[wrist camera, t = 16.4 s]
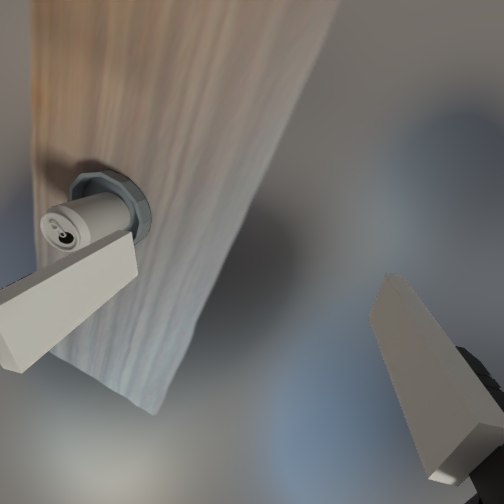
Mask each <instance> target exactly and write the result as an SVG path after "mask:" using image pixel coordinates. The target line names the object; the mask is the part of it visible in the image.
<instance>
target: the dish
mask: <svg viewBox="0 0 504 504" xmlns="http://www.w3.org/2000/svg"><path fill="white" fill-rule="evenodd" d="M103 192H109V193H112V194H114V195H117V196H118V197H119V198H120V199H122V200H123V202H124V203H125V204H126V206H127V208H128V210H129V213H130V222H129V225H128V226H127V228H125V229H124V231H130V232H132V238H133V244H134V245H135V244H137V243H138V242H139V241H141V240H142V239H143V238H145V237H146V236H147V234H148V232H149V230H150V227H151V211H150V207H149V204H148V201H147V199H146V197H145V196H144V194H143V193H142V191H141V190H140V189H139V187H138V186H137V185H136V184H135V183H134V182H133V181H131V180H130V179H129V178H127V177H126V176H124V175H122V174H120V173H117V172H114V171H111V170H107V171H94V172H87V173H81V174H80V175H79V176H78V177H77V178H76V179H75V180H74V181H73V182H72V183H71V184H70V186H69V193H68V202H70V201H74V200H77V199H81V198H84V197H88V196H91V195H95V194H99V193H103Z"/></svg>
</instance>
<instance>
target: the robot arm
mask: <svg viewBox="0 0 504 504" xmlns="http://www.w3.org/2000/svg"><path fill="white" fill-rule="evenodd" d="M137 275H138V271H137V264H136V258H135V251H134V244H133V238H132V232H130V231H124V230H117V231H115V232H113V233H111V234H109V235H107V236H105V237H103V238H101V239H99V240H97V241H96V242H94V243H92V244H90V245H88V246H86V247H84V248H82V249H80V250H78V251H76V252H74V253H72V254H70V255H68V256H66V257H64V258H62V259H60V260H58V261H56V262H54V263H52V264H50V265H48V266H46V267H44V268H42V269H41V270H39V271H37V272H35V273H32V274H29V275H27V276H26V277H23V278H21V279H20V280H18V281H17V282H14V283H12V284H10V285H8V286H6V287H5V288H2V289H0V364H1V366H2V367H3V368H4V369H7V370H11V371H15V372H19V373H23V372H24V371H25V370H26V369H28V368H29V367H30V366H31V365H32V364H33V363H35V362H36V361H37V360H38V359H39V358H40V357H42V356H43V355H44V354H45V353H46V352H48V351H49V350H50V349H51V348H52V347H53V346H55V345H56V344H57V343H58V342H59V341H61V340H62V339H63V338H64V337H65V336H66V335H68V334H69V333H70V332H71V331H72V330H74V329H75V328H76V327H77V326H78V325H79V324H81V323H82V322H83V321H84V320H85V319H87V318H88V317H89V316H90V315H91V314H92V313H94V312H95V311H96V310H97V309H98V308H100V307H101V306H102V305H103V304H104V303H105V302H107V301H108V300H109V299H110V298H111V297H113V296H114V295H115V294H116V293H117V292H118V291H120V290H121V289H122V288H123V287H124V286H126V285H127V284H128V283H129V282H130V281H131V280H133V279H134V278H135V277H136V276H137ZM368 319H369V322H370V324H371V327H372V330H373V332H374V335H375V338H376V340H377V343H378V346H379V348H380V351H381V354H382V356H383V359H384V362H385V365H386V367H387V370H388V373H389V375H390V378H391V381H392V383H393V386H394V389H395V392H396V394H397V397H398V400H399V402H400V405H401V408H402V410H403V413H404V416H405V418H406V421H407V424H408V426H409V429H410V432H411V435H412V437H413V440H414V443H415V445H416V448H417V451H418V453H419V456H420V459H421V462H422V464H423V467H424V470H425V472H426V475H427V478H428V479H431V480H435V481H438V482H442V483H446V484H450V485H454V486H459V485H460V484H461V483H462V482H463V481H464V480H465V479H466V478H467V477H469V476H470V478H471V480H472V482H473V484H474V486H475V488H476V490H477V492H478V493H476V494H475V495H474V496H473V497H472V498H471V499H469V500H468V501H467V502H466V503H465V504H504V392H502V388H501V387H500V386H499V384H498V383H497V382H496V381H495V379H492V377H491V375H490V373H489V372H488V371H487V370H486V368H485V367H484V366H483V364H482V363H481V362H480V361H479V360H478V359H477V358H475V357H474V356H473V355H472V354H471V353H469V352H468V351H467V350H466V349H465V348H462V347H457V346H454V344H453V343H452V342H451V340H450V339H449V338H448V336H447V335H446V334H445V332H444V331H443V329H442V328H441V327H440V326H439V324H438V323H437V321H436V320H435V319H434V317H433V316H432V315H431V313H430V312H429V310H428V309H427V308H426V306H425V305H424V304H423V302H422V301H421V300H420V298H419V297H418V295H417V294H416V293H415V292H414V290H413V289H412V287H411V286H410V285H409V283H408V282H407V281H406V279H405V278H404V277H403V276H400V275H394V274H387V273H386V275H385V277H384V280H383V282H382V284H381V287H380V289H379V292H378V294H377V297H376V299H375V302H374V304H373V307H372V309H371V312H370V314H369V317H368Z"/></svg>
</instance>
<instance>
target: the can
mask: <svg viewBox="0 0 504 504" xmlns="http://www.w3.org/2000/svg"><path fill="white" fill-rule="evenodd" d="M129 222H130V213H129V210H128V208H127V206H126V204H125V203H124V202H123V200H122V199H120V198H119V197H118V196H117V195H114V194H112V193H109V192H103V193H99V194H95V195H91V196H88V197H84V198H81V199H77V200H74V201H70V202H66V203H63V204H59V205H56V206H52V207H51V208H50V209H48V211H47V213H45V214H44V215H43V216H42V217H41V220H40V228H41V231H42V233H43V235H44V237H45V239H46V240H47V241H48V242H49V243H50V244H51V245H52V246H54V247H55V248H57V249H59V250H61V251H64V252H73V251H75V252H76V251H78V250H80V249H82V248H84V247H86V246H88V245H90V244H92V243H94V242H96V241H97V240H99V239H101V238H103V237H105V236H107V235H109V234H111V233H113V232H115V231H117V230H124V229H125V228H127V226H128V225H129Z"/></svg>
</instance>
